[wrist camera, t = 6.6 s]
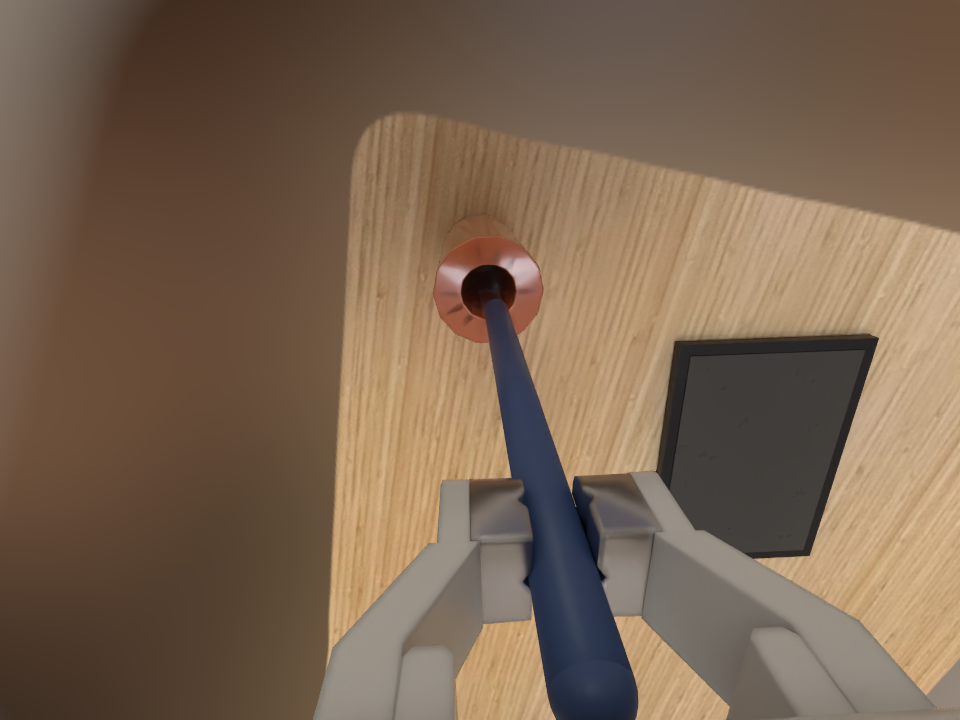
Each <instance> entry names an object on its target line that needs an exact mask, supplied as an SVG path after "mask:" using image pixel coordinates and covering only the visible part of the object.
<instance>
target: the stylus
mask: <svg viewBox="0 0 960 720" xmlns="http://www.w3.org/2000/svg"><path fill="white" fill-rule="evenodd" d="M484 314H485V320H486V326H487V332H488V338H489V344H490V350H491V356H492V362H493V368H494V374H495V380H496V386H497V392H498V398H499V405H500V411H501V417H502V423H503V429H504V435H505V441H506V447H507V453H508V459H509V465H510V471H511V477H512V478H521V479H522V482H523V487H524V505H525V506H526V507H527V508H528V512H529V518H530V523H531V528H532V534H533V570H532V571H531V572H530V573H529V574H528V579H529V585H530V591H531V597H532V603H533V610H534V616H535V622H536V628H537V634H538V640H539V646H540V652H541V658H542V664H543V670H544V676H545V682H546V688H547V694H548V699H549V703H550V707H551V709H552V712H553V714H554V716H555V718H556V720H635V719H636V716H637V710H638V690H637V686H636V682H635V678H634V675H633V672H632V669H631V666H630V664H629V661H628V658H627V655H626V652H625V649H624V646H623V643H622V640H621V637H620V634H619V631H618V629H617V626H616V623H615V620H614V617H613V614H612V611H611V608H610V605H609V602H608V599H607V597H606V594H605V591H604V588H603V585H602V582H601V579H600V576H599V573H598V570H597V567H596V564H595V562H594V559H593V556H592V553H591V550H590V547H589V544H588V541H587V538H586V535H585V532H584V529H583V527H582V524H581V521H580V518H579V515H578V512H577V509H576V506H575V503H574V500H573V497H572V494H571V492H570V489H569V486H568V483H567V480H566V477H565V474H564V471H563V468H562V465H561V462H560V459H559V457H558V454H557V451H556V448H555V445H554V442H553V439H552V436H551V433H550V430H549V427H548V424H547V422H546V419H545V416H544V413H543V410H542V407H541V404H540V401H539V398H538V395H537V392H536V390H535V387H534V384H533V381H532V378H531V375H530V372H529V369H528V366H527V363H526V360H525V357H524V355H523V352H522V349H521V346H520V343H519V340H518V337H517V334H516V331H515V328H514V325H513V322H512V320H511V317H510V314H509V311H508V308H507V305H506V304H505V303H504V302H503V301H502V300H499V299H493V300H491V301H489V302H488V303H487V304H486V306H485V308H484Z"/></svg>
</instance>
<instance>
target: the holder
mask: <svg viewBox="0 0 960 720" xmlns="http://www.w3.org/2000/svg"><path fill="white" fill-rule="evenodd" d="M543 290H544V289H543V284H542V279H541V274H540V269H539V267H538V265H537V263H536V262H535V261H534V260H533V258H532V257H531V256H530V254H529V253H528V252H527V251H526V249H525V248H524V247H523V246H522V245H521V243H520V242H519V241H518V240H517V239H516V238H515V236H514V235H513V234H512V233H511V232H510V230H509V229H508V228H507V227H506V226H505V225H504V223H502V222H501V221H499V220H497V219H495V218H493V217H490V216H487V215H473V216H469V217H466V218H464V219H462V220H460V221H459V222H458V223H456V224H455V225H454V226H453V227H452V228H451V230H450V231H449V233H448V234H447V236H446V237H445V240H444V244H443V248H442V252H441V256H440V260H439V264H438V269H437V273H436V279H435V285H434V291H433V295H434V299H435V302H436V305H437V309H438V312H439V315H440V317H441V319H442V320H443V321H444V322H445V323H446V324H447V325H448V326H449V327H450V328H451V329H452V331H453V332H454V333H455V334H457V335H459V336H461V337H464V338H466V339H469V340H471V341H473V342H476V343H489V338H488V332H487V326H486V320H485V314H484V308H485V306H486V304H487V303H488V302H489V301H491V300H493V299H499V300H502V301H503V302H504V303H505V304H506V305H507V308H508V311H509V314H510V317H511V320H512V322H513V325H514V328H515V331H516V334H519V333H521V332H522V331H524V330H525V328H526V327H527V326H528V325H529V323H530V322H531V321H532V320H533V319H534V317H535V316H536V315H537V313H538V310H539V307H540V303H541V299H542V295H543Z"/></svg>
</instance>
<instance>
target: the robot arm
mask: <svg viewBox="0 0 960 720" xmlns="http://www.w3.org/2000/svg"><path fill="white" fill-rule="evenodd" d="M469 492H470V497H469ZM572 495H573V498H574V501H575V504H576V509H577V512H578V515H579V518H580V521H581V524H582V527H583V529H584V532H585V535H586V538H587V541H588V544H589V547H590V550H591V553H592V556H593V559H594V562H595V564H596V567H597V570H598V573H599V576H600V579H601V582H602V585H603V588H604V591H605V594H606V597H607V599H608V602H609V605H610V608H611V611H612V614H613V617H614V616H642V619H643V620H644V621H645V622H646V623H647V624H648V625H649V626H650V627H651V628H652V629H653V630H654V631H655V632H656V633H657V634H658V635H659V636H660V637H661V638H662V639H663V640H664V641H665V642H666V643H667V644H668V645H669V646H670V647H671V648H672V649H673V650H674V651H675V652H676V653H677V654H678V655H679V656H680V657H681V658H682V659H683V660H684V661H685V662H686V663H687V664H688V665H689V666H690V667H691V668H692V669H693V670H694V671H695V672H696V673H697V674H698V675H699V676H700V677H701V678H702V679H703V680H704V681H705V682H706V683H707V684H708V685H709V686H710V687H711V688H712V689H713V690H714V691H715V692H716V693H717V694H718V695H719V696H720V697H721V698H722V699H723V700H724V701H725V702H726V703H727V704H728V705H729V706H730V709H729V712H728V716H727V719H726V720H960V707H958V708H957V707H956V708H939V709H937V708H936V707H935V706H934V705H933V704H932V702H931V701H930V700H929V699H928V698H927V697H926V696H925V694H924V693H923V692H922V691H921V690H920V689H919V688H918V686H917V685H916V684H915V683H914V682H913V681H912V680H911V679H910V677H909V676H908V675H907V674H906V673H905V672H904V671H903V670H902V668H901V667H900V666H899V665H898V664H897V663H896V662H895V661H894V659H893V658H892V657H891V656H890V655H889V654H888V653H887V652H886V650H885V649H884V648H883V647H882V646H881V645H880V644H879V642H878V641H877V640H876V639H875V638H874V637H873V636H872V635H871V633H870V632H869V631H868V630H867V629H866V628H865V627H864V626H863V624H862V623H861V622H860V621H859V620H857V619H855V618H854V617H852V616H850V615H848V614H847V613H845V612H843V611H842V610H840V609H838V608H836V607H835V606H833V605H831V604H830V603H828V602H826V601H824V600H823V599H821V598H819V597H818V596H816V595H814V594H812V593H811V592H809V591H807V590H806V589H804V588H802V587H800V586H799V585H797V584H795V583H794V582H792V581H790V580H788V579H787V578H785V577H783V576H782V575H780V574H778V573H776V572H775V571H773V570H771V569H770V568H768V567H766V566H764V565H763V564H761V563H759V562H758V561H756V560H754V559H752V558H751V557H749V556H747V555H746V554H744V553H742V552H740V551H739V550H737V549H735V548H734V547H732V546H730V545H728V544H727V543H725V542H723V541H722V540H720V539H718V538H716V537H715V536H713V535H711V534H710V533H708V532H706V531H704V530H697V531H696V530H695V529H694V527H693V526H692V524H691V523H690V521H689V520H688V518H687V517H686V515H685V514H684V512H683V511H682V509H681V508H680V506H679V505H678V503H677V502H676V500H675V499H674V497H673V496H672V494H671V493H670V491H669V490H668V488H667V487H666V485H665V484H664V482H663V481H662V479H661V478H660V476H659V475H658V473H656V472H654V471H642V472H629V473H627V474H608V475H588V476H575V477H574V481H573V489H572ZM532 570H533V534H532V528H531V523H530V518H529V512H528V508H527V507H526V506H525V505H524V487H523V482H522V479H521V478H500V479H469V480H467V479H463V480H442V483H441V489H440V504H439V519H438V534H437V543H429V544H428V545H427V546H426V547H425V548H424V549H423V550H422V551H421V552H420V553H419V554H418V556H417V557H416V558H415V559H414V560H413V561H412V562H411V563H410V564H409V565H408V566H407V568H406V569H405V570H404V571H403V572H402V573H401V574H400V575H399V576H398V577H397V578H396V579H395V581H394V582H393V583H392V584H391V585H390V586H389V587H388V588H387V589H386V590H385V591H384V593H383V594H382V595H381V596H380V597H379V598H378V599H377V600H376V601H375V602H374V603H373V605H372V606H371V607H370V608H369V609H368V610H367V611H366V612H365V613H364V614H363V615H362V616H361V618H360V619H359V620H358V621H357V622H356V623H355V624H354V625H353V626H352V627H351V628H350V630H349V631H348V632H347V633H346V634H345V635H344V636H343V637H342V638H341V639H340V640H339V642H338V643H337V644H336V645H335V646H334V647H333V649H332V653H331V656H330V660H329V664H328V667H327V671H326V675H325V678H324V682H323V685H322V689H321V693H320V696H319V700H318V704H317V708H316V711H315V715H314V718H313V720H458V712H457V696H456V681H455V679H456V677H457V675H458V673H459V671H460V669H461V667H462V666H463V664H464V662H465V660H466V658H467V656H468V654H469V652H470V650H471V649H472V647H473V645H474V643H475V641H476V639H477V637H478V635H479V633H480V632H481V630H482V628H483V624H491V623H503V622H515V621H527V620H531V610H532V597H531V591H530V585H529V579H528V574H529V573H530V572H531V571H532Z"/></svg>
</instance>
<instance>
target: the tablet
mask: <svg viewBox="0 0 960 720" xmlns="http://www.w3.org/2000/svg"><path fill="white" fill-rule="evenodd" d="M878 340H879V338H877V337H875V336H872V335H870V334H868V335H841V336H814V337H787V338H760V339H733V340H706V341H679V342H675V347H674V354H673V361H672V368H671V375H670V382H669V389H668V396H667V403H666V410H665V417H664V424H663V431H662V438H661V445H660V452H659V459H658V466H657V473H658V475H659V476H660V478H661V479H662V481H663V482H664V484H665V485H666V487H667V488H668V490H669V491H670V493H671V494H672V496H673V497H674V499H675V500H676V502H677V503H678V505H679V506H680V508H681V509H682V511H683V512H684V514H685V515H686V517H687V518H688V520H689V521H690V523H691V524H692V526H693V527H694V529H695V530H696V531H697V530H704V531H706V532H708V533H710V534H711V535H713V536H715V537H716V538H718V539H720V540H722V541H723V542H725V543H727V544H728V545H730V546H732V547H734V548H735V549H737V550H739V551H740V552H742V553H744V554H746V555H747V556H749V557H751V558H752V559H756V558H776V557H796V556H810V553H811V550H812V547H813V543H814V540H815V537H816V534H817V531H818V528H819V525H820V521H821V518H822V515H823V512H824V509H825V506H826V503H827V500H828V496H829V493H830V490H831V487H832V484H833V481H834V478H835V474H836V471H837V468H838V465H839V462H840V459H841V456H842V453H843V449H844V446H845V443H846V440H847V437H848V434H849V431H850V427H851V424H852V421H853V418H854V415H855V412H856V409H857V406H858V402H859V399H860V396H861V393H862V390H863V387H864V384H865V380H866V377H867V374H868V371H869V368H870V365H871V362H872V359H873V355H874V352H875V349H876V346H877V343H878Z"/></svg>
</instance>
